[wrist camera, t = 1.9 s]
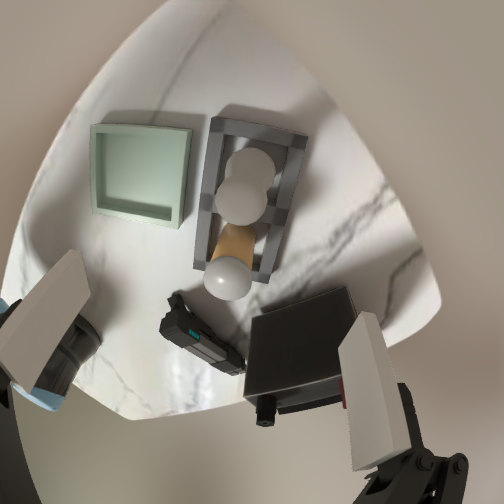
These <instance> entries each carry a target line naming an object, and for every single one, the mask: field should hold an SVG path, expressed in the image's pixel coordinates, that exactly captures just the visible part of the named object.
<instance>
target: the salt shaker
mask: <svg viewBox="0 0 504 504" xmlns="http://www.w3.org/2000/svg"><path fill="white" fill-rule="evenodd" d="M275 174H276V170H275V166H274V162H273V160H272V159H271V158H270V157H269V155H268V154H267V153H266V152H264V151H262V150H260V149H258V148H243V149H241V150H239V151H237V152H234V153H233V154H232V156H231V157H230V158H229V160H228V161H227V164H226V169H225V180H224V181H223V182H222V184H221V185H220V186H219V188H218V189H217V193H216V199H215V204H216V207H217V210H218V213H219V214H220V215H221V216H222V218H223V219H224V220H225V221H227V222H229V223H232V224H234V225H244V226H247V225H249V224H251V223H254V222H256V221H257V220H258V219H259V218H260V217H261V216H262V215H263V213H264V212H265V209H266V205H267V194H266V192H267V191H268V189H269V188H270V187H271V185H272V184H273V182H274V178H275Z"/></svg>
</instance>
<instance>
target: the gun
mask: <svg viewBox="0 0 504 504" xmlns="http://www.w3.org/2000/svg"><path fill="white" fill-rule="evenodd" d="M168 303H169V304H170V307H171V311H170V312H168V313H166V316H165V318H163V319H162V320H161V324H160V329H159V332H160V333H161V335H162V336H163V337H164V338H166V339H167V340H170V341H171V342H173V343H174V344H176V345H177V346H179V347H181V348H185V349H186V350H188V351H189V352H191V353H193V354H194V355H196V356H198V357H199V358H201V359H203V360H205V361H206V362H208V363H209V364H210V365H211V366H213V367H215V368H217V369H219V370H220V371H222V372H224V373H225V372H226V373H227V374H229V375H231V376H235V375H239V373H240V374H243V373H246V366H247V365H246V364H245V359H243V358H242V357H241V356H240V355H238V354H237V353H236V352H235V350H234V349H233V348H231V347H230V346H228V345H227V344H225V343H223V342H222V341H220V340H219V339H217V338H216V337H215V334H214V333H213V332H211V328H210V327H209V326H207V325H206V324H205V323H203V322H202V321H201V320H199V319H198V318H197V317H195V315H194V313H190V312H189V311H187V309H186V307H185V304H184V302H183V299H182V297H181V296H180V295H179V294H177V295H174V296H172V297H170V298H168Z"/></svg>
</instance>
